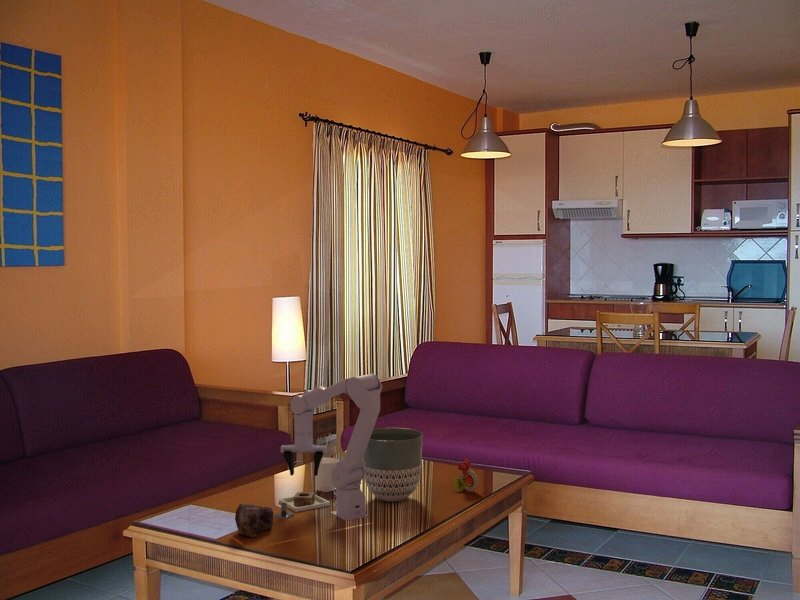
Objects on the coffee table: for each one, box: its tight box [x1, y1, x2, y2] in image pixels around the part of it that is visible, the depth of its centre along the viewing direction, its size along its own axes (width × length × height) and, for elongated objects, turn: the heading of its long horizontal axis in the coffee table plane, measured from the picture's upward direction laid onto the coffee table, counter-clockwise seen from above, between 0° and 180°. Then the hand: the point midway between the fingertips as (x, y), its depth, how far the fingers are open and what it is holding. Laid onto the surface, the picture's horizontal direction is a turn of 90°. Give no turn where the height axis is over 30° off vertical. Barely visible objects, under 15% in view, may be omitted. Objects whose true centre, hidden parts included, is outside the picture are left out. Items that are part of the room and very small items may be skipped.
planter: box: [363, 427, 424, 503], centre depth 270 cm, size 20×20×21 cm
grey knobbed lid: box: [273, 502, 295, 520], centre depth 253 cm, size 6×6×4 cm
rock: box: [234, 503, 274, 538], centre depth 239 cm, size 12×9×10 cm
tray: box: [278, 494, 331, 513], centre depth 265 cm, size 12×12×2 cm
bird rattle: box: [452, 458, 480, 493], centre depth 280 cm, size 6×11×9 cm
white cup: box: [315, 457, 340, 493], centre depth 282 cm, size 8×8×10 cm
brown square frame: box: [294, 491, 316, 507], centre depth 264 cm, size 6×7×3 cm
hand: (304, 474), depth 264 cm, fingers open, 7 cm apart
